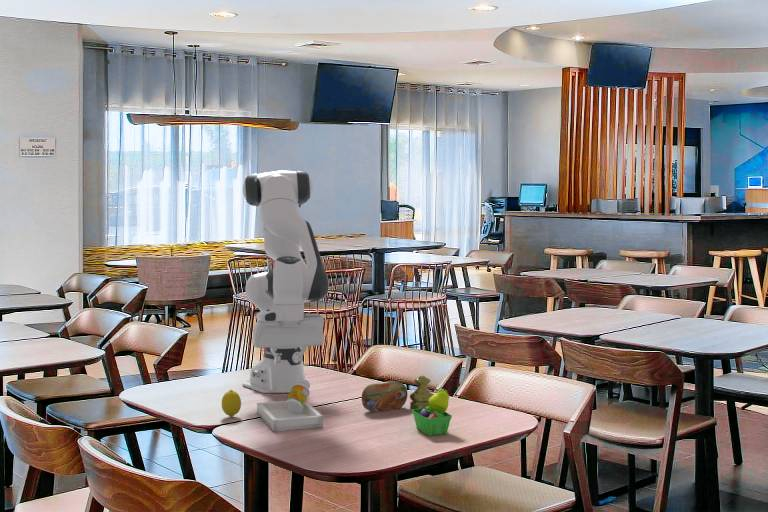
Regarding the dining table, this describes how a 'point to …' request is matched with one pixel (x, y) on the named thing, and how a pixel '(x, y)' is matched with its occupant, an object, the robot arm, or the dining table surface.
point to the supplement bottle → (298, 396)
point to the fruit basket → (434, 415)
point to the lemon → (231, 403)
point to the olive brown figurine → (420, 394)
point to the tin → (384, 396)
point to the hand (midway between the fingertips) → (288, 362)
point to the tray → (288, 416)
